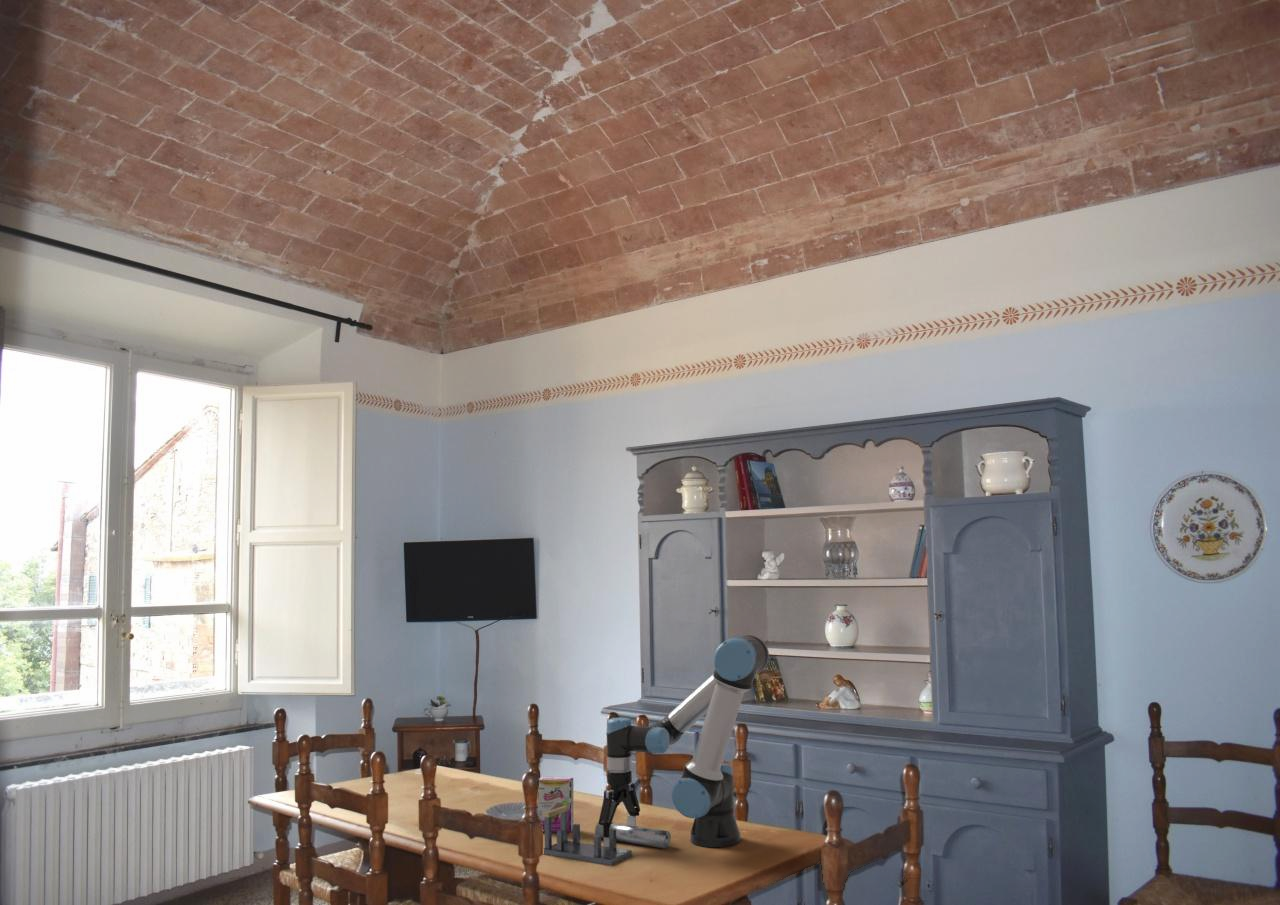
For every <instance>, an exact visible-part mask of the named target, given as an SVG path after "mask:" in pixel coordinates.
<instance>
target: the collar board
mask: <svg viewBox="0 0 1280 905" xmlns="http://www.w3.org/2000/svg"><path fill="white" fill-rule="evenodd" d="M559 813H561V830H558V831H557V833H556V843H554V844H553V837H552V836H553V832H552V816H554V815H557V814H559ZM544 818H545V832H544V848H543V849H544V854H543V855H545V856H550V855H552V857H556V856H557V858H562V857H563V859H568V858H569V860H576V861H580V862H581V861H582V862H585V863H586V862H587V863H592V864H598V865H603V866H604V865H605V866H610V865H611V866H613V865H615V864H617V862H618V863H619V862H621V861H624V860H626V859H627V858H630V857H632V856H633V855H632V854H633V852H632V850H630V849H623V848H618V847H617V841H616V829H610V830H609V847H606V846H604V845H602V839H601V836H599V835H596V834H595V835H593V843H591V844H590V843H585V842H581V824H579V823H574V825H573V830H572V840H569V837H568V836H569V835H568V834H569V833H568V807H567V806H562V807H559V808H556V809H553V810H550V811H548V812H545V813H544Z"/></svg>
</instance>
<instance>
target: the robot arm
mask: <svg viewBox="0 0 1280 905" xmlns="http://www.w3.org/2000/svg"><path fill="white" fill-rule="evenodd" d="M769 653H770V652H769V649H768V646H767V644H766V643H765V642H764V640H763V639H761V638H760V637H758V636H755V635H749V634H747V635H743V636H734V637H731V638H728V639H726V640H725V641H723V642H722V643H720V644H719V645H718V647H717V648H716V650H715V652H714V654H713V666H714V671H713V673H712V674H711V675H710V676H709V677H708V678H707V679H706V680H705V681H704V682H703V683H701V684H700V685H699V686H698V687H697V688H696V689H695V690H693V691H692V692H691V693H690V694H689V695H688V696H687V697H686V698H685V699H684V700H683V701H681V702H680V703H679V704H678V705H676V707H675V708H674V709H673V710H671V712H669V713H668V714H667V715H666V716H664V718H662V719H661V720H660V721H659V722H656V723H653V724H651V725H646V726H639V725H637V726H636V725H632V720H631V718H628V717H613V718H610V719H608V720H607V722H606V733H605V734H606V762H607V763H606V765H607V766H606V769H607V772H606V779H607V780H606V782H607V784H608V785H609V786H610V788H609V790H604V791H603V801H602V805H601V809H600V813H599V814H600V815H599V819H598V822H599V825H602V826H603V836H604V839H603V846H606V847H609V830H610V829H613V826H611V823H612V822H613V819H614V816H615V814H616V811H617V809H618V806H619V805H620V804H621V803H623V805H624V806H623V807H625V809H626V811H627V813H628V815H626V822H627V823H626V825H631V826H637V817H639V816H640V813H641V806H640V803H639V799H638V796H637V792H636V787H635V786H636V784H635V783H634V782H633V780H632V779H633V775H632V772H633V771H632V770H631V769H632V768H633V766H632V765H633V764H632V763H633V762H632V752H637V753H638V752H639V753H649V754H654V755H656V754H664V753H666V752H667V750H668V749H669V746H671V745H675V744H676V743H677V742H678V741H680V739H681V738H682V736H683V734H685V733H686V732H687V731H688V730H689V729H690V728H691V727H693V725H695V724H696V723H697V722H698V721H699V720H701V719H702V718H703V717H704V716H705V718H704V721H703V723H702V724H703V725H702V728H701V729H700V730H701V731H700V733H699V737H698V740H697V742H696V747H695V750H694V752H693V756H692V759H690V760H689V761H687V762H686V763H685V764H684V769H683V771H682V774H681V778H680V779H678V780H677V781H676V783H675V784H674V786H673V787H672V791H671V799H672V800H671V801H672V803H673V805H674V807H675V809H676V810H677V812H679V814H681V815H682V816H684V817H686V818H689V819H694V820H693V823H692V825H691V826H692V827H691V830H690V842H691V843H692V844H694V845H696V846H700V847H705V848H725V847H732V846H735V845H737V844H739V843H740V842H741V831H740V830H739V826H738V823H737V819H736V817H735V812H734V811H735V810H734V809H735V807H734V806H735V805H734V803H735V802H734V773H733V767H732V765H730V764H727V763H724V759H725V754H726V752H727V748H728V746H729V742H730V739H731V736H732V733H733V729H734V726H735V723H736V720H737V718H738V717H737V716H738V713H739V710H740V707H741V705H742V701H743V698H744V694H745V693H747V692H749V691H750V690H751V689H752V686H753V683H754V680H755V677H756V676H757V675H758V674H759V673H761V672H763V671H764V670H765V668H766V667H767V665H768V663H769V658H770V654H769Z"/></svg>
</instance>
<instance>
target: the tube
mask: <svg viewBox="0 0 1280 905" xmlns="http://www.w3.org/2000/svg"><path fill="white" fill-rule="evenodd" d="M611 826H613V829H616V842H621V843H628V844H634V845H639V846H641V845H642V846H647V847H652V848H658V849H668V848H669V847H670V844H671V840H672V838H671V832H670V831H669V830H664V829H656V828H653V827H652V828H649V827H643V826H638V825H636V826H631V825H627V824H623V823H619V822H618V823H617V822H613V821H612V823H611ZM594 833H595V836H596V835H599V836H601V840H604V836H603V826H602V825H599V821H598V822H597V823H596V825H595V829H594Z"/></svg>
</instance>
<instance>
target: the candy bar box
mask: <svg viewBox="0 0 1280 905" xmlns="http://www.w3.org/2000/svg"><path fill="white" fill-rule="evenodd" d="M538 779H539V789H538V815H539V819H540V821H541V824H542V826H543V830H544V832H543V833H545V818H544V813H545V812H548V811H550V810H553V809H556V808H559V807H562V806H567V807H568V834H570V833H573V825H574V824H575V823H574V777H572V776H571V777H570V776H569V777H568V776H565V777H564V776H562V777H561V776H559V777H558V776H540V777H539V778H538ZM558 830H561V813H559V814H557V815H554V816H552V833H556V834H557V831H558Z"/></svg>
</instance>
